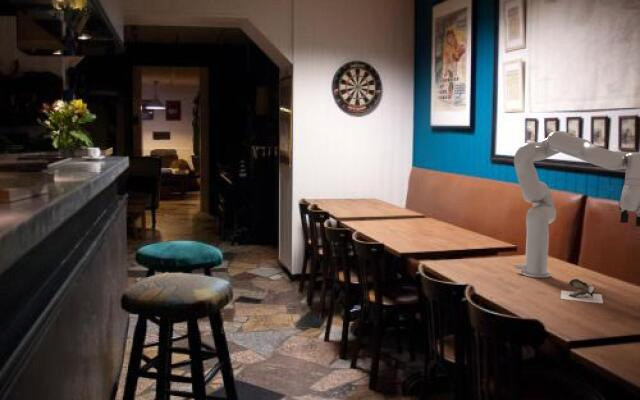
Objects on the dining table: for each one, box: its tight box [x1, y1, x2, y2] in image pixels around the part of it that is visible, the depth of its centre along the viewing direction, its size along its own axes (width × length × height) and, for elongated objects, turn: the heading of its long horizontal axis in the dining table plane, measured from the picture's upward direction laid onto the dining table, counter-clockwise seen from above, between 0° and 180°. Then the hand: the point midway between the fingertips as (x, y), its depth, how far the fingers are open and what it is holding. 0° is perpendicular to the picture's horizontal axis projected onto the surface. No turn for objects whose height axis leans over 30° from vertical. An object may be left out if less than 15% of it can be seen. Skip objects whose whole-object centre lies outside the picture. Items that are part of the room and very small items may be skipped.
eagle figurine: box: [569, 278, 596, 298], centre depth 249 cm, size 8×7×9 cm
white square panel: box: [560, 289, 604, 304], centre depth 249 cm, size 15×14×1 cm
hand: (631, 224), depth 260 cm, fingers open, 9 cm apart
